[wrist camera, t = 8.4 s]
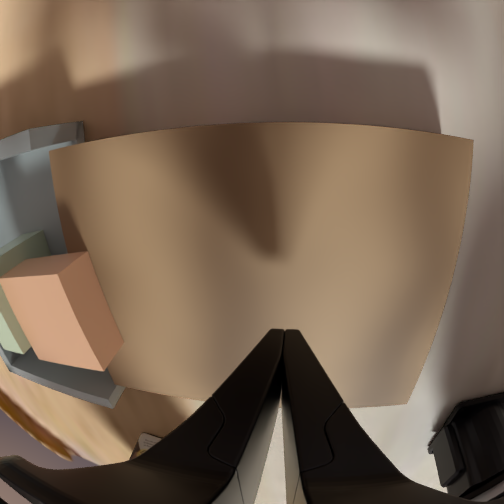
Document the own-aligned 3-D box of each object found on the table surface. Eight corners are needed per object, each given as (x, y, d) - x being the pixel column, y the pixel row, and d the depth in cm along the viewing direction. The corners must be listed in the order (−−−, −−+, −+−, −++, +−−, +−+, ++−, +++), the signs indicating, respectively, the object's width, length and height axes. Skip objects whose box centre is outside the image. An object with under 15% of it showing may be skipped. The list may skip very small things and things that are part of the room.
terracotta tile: (87, 250, 11) (57, 274, 9) (124, 342, 13) (103, 371, 11) (25, 259, 12) (-2, 278, 10) (59, 336, 14) (39, 359, 12)
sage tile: (-19, 268, 9) (-35, 270, 10) (23, 354, 11) (3, 349, 11) (42, 229, 13) (22, 234, 14) (71, 305, 15) (49, 304, 15)
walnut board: (442, 134, 10) (473, 140, 8) (396, 369, 15) (406, 404, 12) (84, 142, 12) (48, 150, 10) (132, 355, 17) (114, 384, 14)
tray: (83, 120, 11) (28, 129, 8) (136, 367, 17) (113, 408, 14) (-20, 155, 13) (-62, 169, 9) (34, 342, 18) (9, 371, 15)
